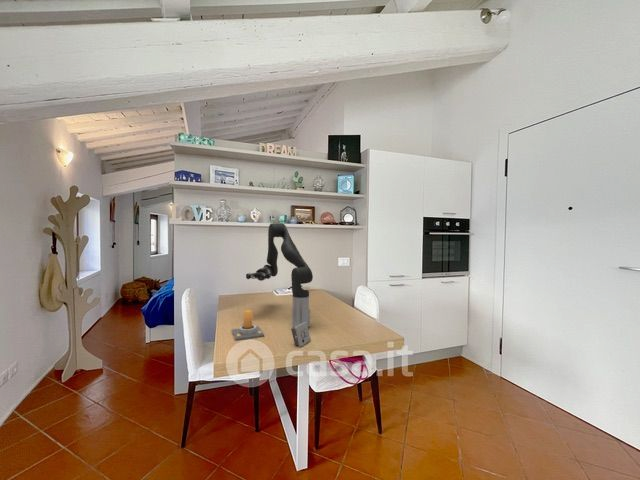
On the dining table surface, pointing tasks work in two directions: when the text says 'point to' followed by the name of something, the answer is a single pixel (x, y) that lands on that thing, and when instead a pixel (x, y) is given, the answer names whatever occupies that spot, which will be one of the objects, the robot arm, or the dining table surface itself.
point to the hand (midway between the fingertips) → (254, 277)
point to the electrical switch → (301, 334)
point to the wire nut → (247, 319)
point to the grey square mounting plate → (247, 333)
